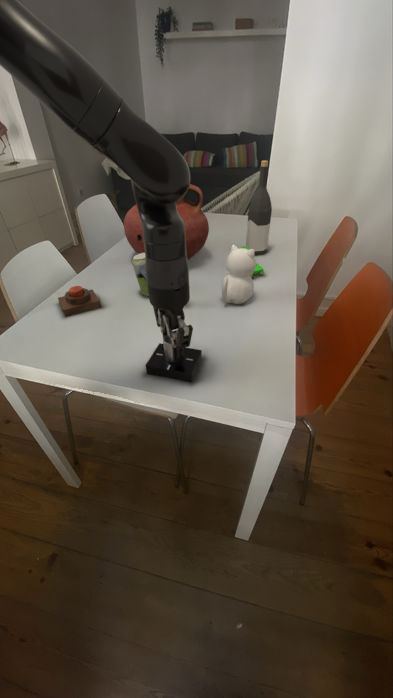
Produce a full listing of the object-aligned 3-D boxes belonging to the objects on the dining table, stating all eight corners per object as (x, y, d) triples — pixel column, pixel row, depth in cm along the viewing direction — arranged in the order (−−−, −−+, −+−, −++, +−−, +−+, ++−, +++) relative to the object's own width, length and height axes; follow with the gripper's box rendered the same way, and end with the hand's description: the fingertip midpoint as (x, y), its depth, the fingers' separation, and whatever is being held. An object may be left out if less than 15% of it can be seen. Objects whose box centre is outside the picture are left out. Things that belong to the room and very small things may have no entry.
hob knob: (162, 361, 67) (159, 341, 64) (168, 350, 70) (166, 330, 67) (180, 364, 66) (178, 344, 63) (186, 353, 69) (185, 333, 66)
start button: (72, 298, 87) (70, 293, 86) (69, 293, 89) (67, 287, 88) (85, 295, 88) (83, 289, 87) (82, 290, 91) (80, 284, 90)
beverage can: (160, 297, 94) (156, 258, 86) (135, 298, 94) (129, 259, 87) (162, 288, 99) (158, 250, 91) (138, 288, 99) (133, 250, 92)
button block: (65, 317, 86) (61, 304, 84) (59, 304, 92) (55, 291, 89) (101, 307, 90) (98, 294, 88) (94, 295, 96) (91, 283, 93)
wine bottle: (271, 252, 120) (282, 161, 101) (254, 257, 117) (263, 163, 98) (257, 246, 125) (266, 158, 107) (241, 250, 122) (247, 160, 104)
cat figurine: (259, 295, 94) (265, 245, 84) (237, 313, 86) (241, 260, 77) (233, 287, 98) (236, 239, 89) (210, 304, 90) (210, 252, 81)
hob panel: (146, 374, 67) (145, 365, 66) (160, 351, 74) (159, 342, 72) (191, 383, 65) (191, 373, 64) (202, 358, 71) (201, 349, 70)
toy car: (228, 268, 110) (229, 249, 106) (244, 263, 112) (246, 245, 108) (247, 280, 102) (249, 260, 98) (264, 275, 104) (267, 256, 100)
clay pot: (118, 272, 108) (99, 173, 90) (141, 242, 131) (130, 158, 113) (203, 276, 105) (203, 173, 86) (212, 244, 128) (213, 158, 109)
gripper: (134, 268, 60) (145, 341, 71) (165, 300, 50) (172, 379, 61) (169, 260, 63) (175, 331, 73) (206, 288, 53) (206, 366, 64)
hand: (174, 352), depth 67 cm, fingers closed on hob knob, 4 cm apart
